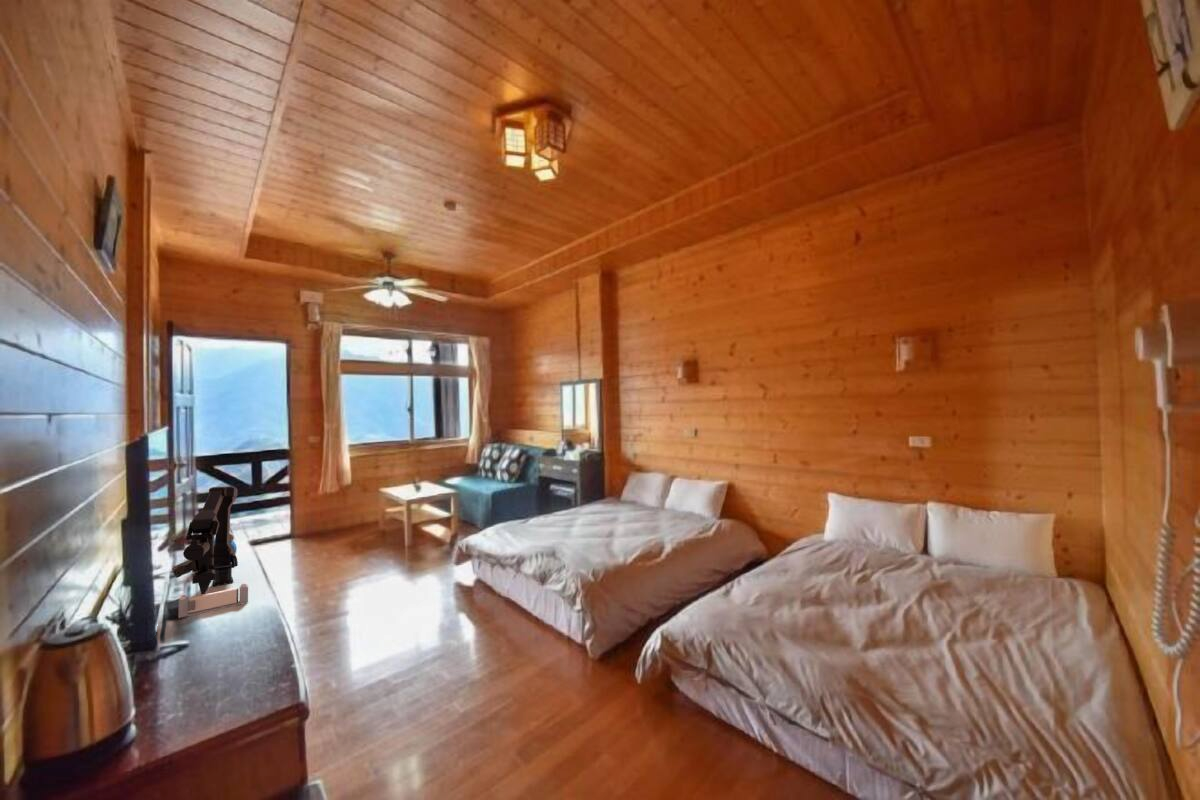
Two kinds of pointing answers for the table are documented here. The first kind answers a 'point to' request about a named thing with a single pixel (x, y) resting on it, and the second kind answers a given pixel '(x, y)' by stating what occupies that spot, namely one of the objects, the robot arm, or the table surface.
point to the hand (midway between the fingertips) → (203, 593)
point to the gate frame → (188, 606)
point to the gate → (215, 599)
